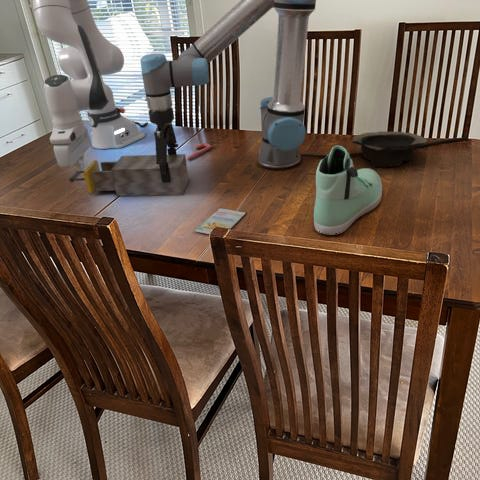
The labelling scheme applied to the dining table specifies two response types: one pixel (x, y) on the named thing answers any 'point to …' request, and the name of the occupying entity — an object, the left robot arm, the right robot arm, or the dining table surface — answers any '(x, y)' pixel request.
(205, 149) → the candy cane
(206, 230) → the baking ingredient package
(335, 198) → the sneaker
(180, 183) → the grey zigzag patterned box
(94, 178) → the drawer
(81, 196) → the dining table surface
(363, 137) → the stone bowl
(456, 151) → the dining table surface
